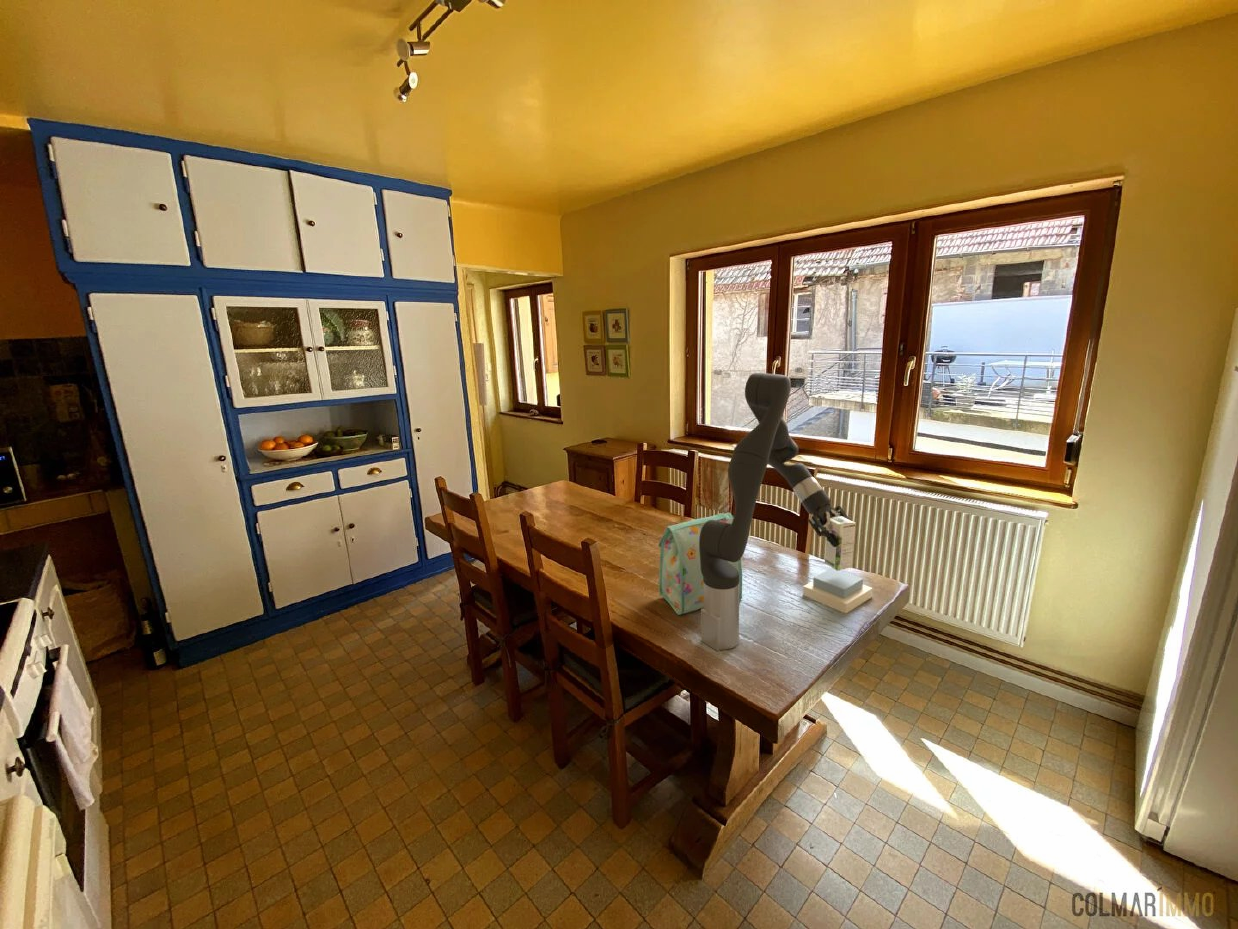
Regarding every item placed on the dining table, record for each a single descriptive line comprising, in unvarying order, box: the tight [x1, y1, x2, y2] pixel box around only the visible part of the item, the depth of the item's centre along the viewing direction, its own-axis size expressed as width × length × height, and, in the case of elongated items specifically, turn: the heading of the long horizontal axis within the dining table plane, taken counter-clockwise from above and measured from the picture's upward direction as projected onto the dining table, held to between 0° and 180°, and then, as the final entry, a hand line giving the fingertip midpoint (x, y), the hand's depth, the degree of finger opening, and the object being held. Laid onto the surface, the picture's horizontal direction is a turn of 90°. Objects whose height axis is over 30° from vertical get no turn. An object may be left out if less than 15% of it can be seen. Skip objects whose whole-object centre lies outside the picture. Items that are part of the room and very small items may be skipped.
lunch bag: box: [657, 512, 743, 616], centre depth 153 cm, size 23×16×27 cm
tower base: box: [802, 567, 873, 614], centre depth 152 cm, size 14×14×6 cm
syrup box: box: [824, 517, 857, 571], centre depth 149 cm, size 6×6×14 cm
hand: (844, 542), depth 148 cm, fingers closed on syrup box, 7 cm apart
